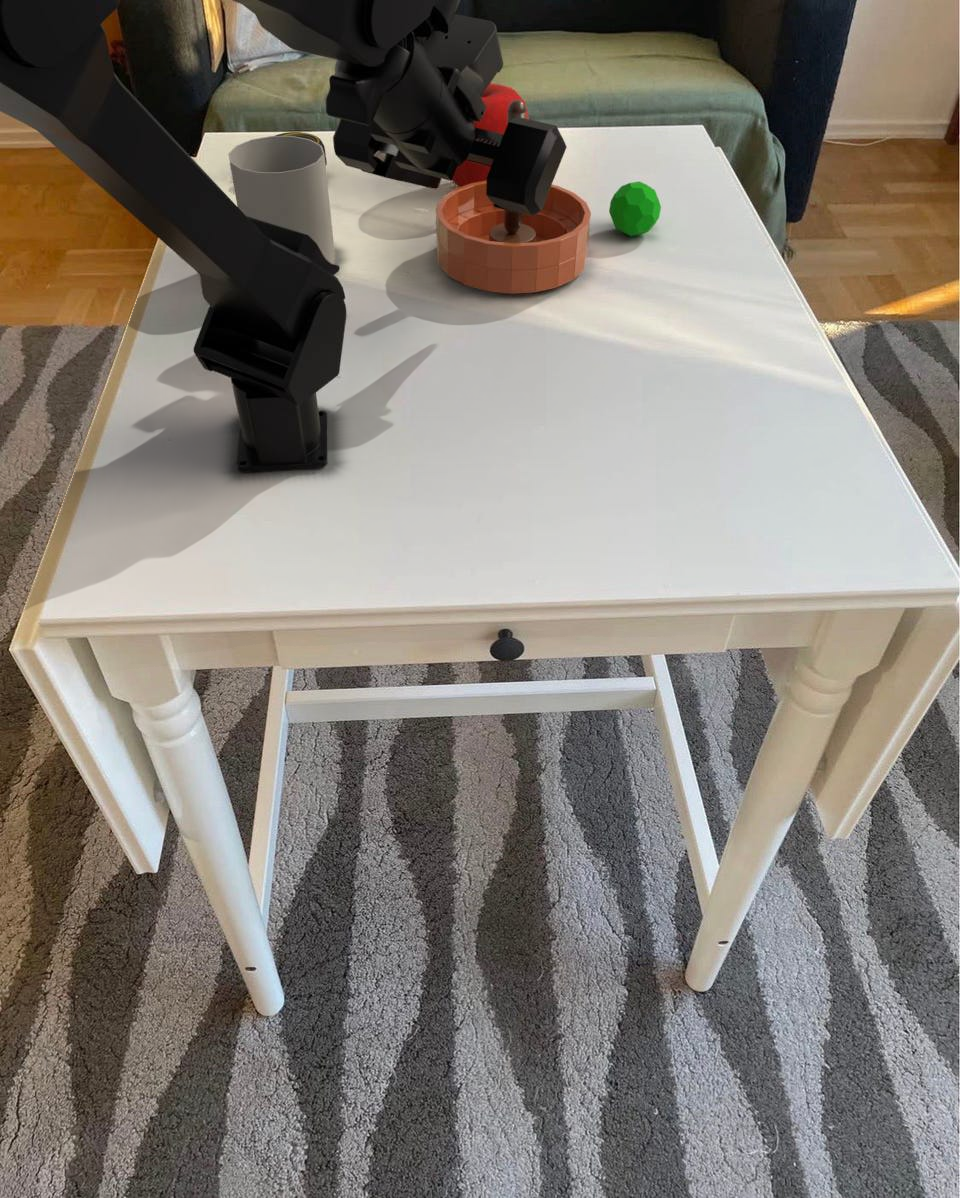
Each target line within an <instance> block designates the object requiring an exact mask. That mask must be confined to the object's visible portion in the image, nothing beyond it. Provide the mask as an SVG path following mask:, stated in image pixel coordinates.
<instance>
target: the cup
mask: <svg viewBox="0 0 960 1198" xmlns="http://www.w3.org/2000/svg"><path fill="white" fill-rule="evenodd" d="M227 155H228V160H229V166H230V172H231V177H232V178H231V179H232V183H233V189H234V190H233V191H234V194H235V200H236V206H237V207H238V208H239V209H240V210H241V211H242V212H243V213H244V214H245V215H246V216H249V217H252V218H255V219H259V220H262V221H265V222H268V223H272V224H275V225H278V226H281V227H285V228H288V229H291V230H294V231H298V232H301V233H304V234H307V235H309V236H310V237H311V238H312V239H313V240H314V241H315V242H316V243H317V245H318V246H319V248H320V250H321V252H322V254H323V255H324V257H325V258H326V260H327V261H329V262H330V263H331V264H334V265H335V263H336V251H335V250H336V249H335V242H334V233H333V223H332V221H333V220H332V213H331V212H332V211H331V204H330V194H329V185H328V184H329V183H328V175H327V174H328V173H327V165H326V164H325V154H324V151H323V148H322V146H321V145H319V144H317V143H316V142H314V141H312V140H310V139H305V138H300V137H295V136H275V135H270V136H264V137H257V138H252V139H250V140H246V141H244V142H242V143H239V144H237V145H235V146H234V147H233V148H232V149H231V150H230V151H229V152H228V154H227Z"/></svg>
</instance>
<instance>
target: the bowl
mask: <svg viewBox="0 0 960 1198" xmlns="http://www.w3.org/2000/svg"><path fill="white" fill-rule="evenodd" d="M486 182H487V181H481V182H475V183H470V184H468V185H465V186H462V187H457V188H454V189H452V190H450V191H449V192H448V193H446V195H443V196H442V197H441V199H440V200H439V202H438V204H437V206H436V207H435V225H436V226H435V228H436V256H437V257H436V258H437V263H438V266H439V267H440V269H442V270H443V271H444V273H445V274H446V275H447V276H449V277H450V278H451V279H453V280H455V281H457V282H459V283H461V284H462V285H464V286H468V287H470V288H475V289H479V290H480V291H481V290H482V291H485V292H492V293H501V294H531V293H538V292H543V291H548V290H552V289H555V288H559V287H561V286H563V285H565V284H567V283H569V282H572V281H574V280H575V279H576V278H577V277H578V276H579V275H580V274H581V273H582V272H583V271H584V270H585V267H586V263H587V259H588V250H589V249H588V248H589V239H590V228H591V221H592V219H591V218H592V212H591V209H590V207H589V205H588V202H586V201H585V200H584V199H583V198H581V197H580V196H579V195H578V194H576V193H575V192H574V191H571V190H568V189H566V188H564V187H562V186H559V185H556V184H552V185H551V188H550V190H549V193H548V195H547V198H546V200H545V203H544V205H543V208H542V210H541V211H540V212H538V213H537V214H535V215H533V216H530V215H526V214H525V215H522V221H521V224H525V225H528V226H530V227H531V228H533V229H534V230H535V232H536V240H535V242H533V243H504V242H494V241H489V231H490V229H491V228H492V227H494V226H496V225H498V224H502V223H504V216H505V210H503V209H499V208H495V207H494V203H493V202H491V201H490V199H489V198H488V197H487V195H486Z"/></svg>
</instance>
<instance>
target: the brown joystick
mask: <svg viewBox="0 0 960 1198" xmlns="http://www.w3.org/2000/svg"><path fill="white" fill-rule="evenodd" d="M526 107H527V105H526V106H525V104H524V103H523V102H522V101H520V100H514V101H512V102H511V103H510V104H509V107H508V118H507V125H508V122H509V121H511V120H512V119H514V118H516V117H521V118H525V119H526ZM521 221H522V215H521V214H517V213H514V212H510V211H506V210H505V216H504V223H502V224H498V225H496V226H494V227H492V228H491V229H490V231H489V241H494V242H504V243H533V242H535V240H536V232H535V230H534V229H533V228H531V227H530V226H528V225H525V224H521Z"/></svg>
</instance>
